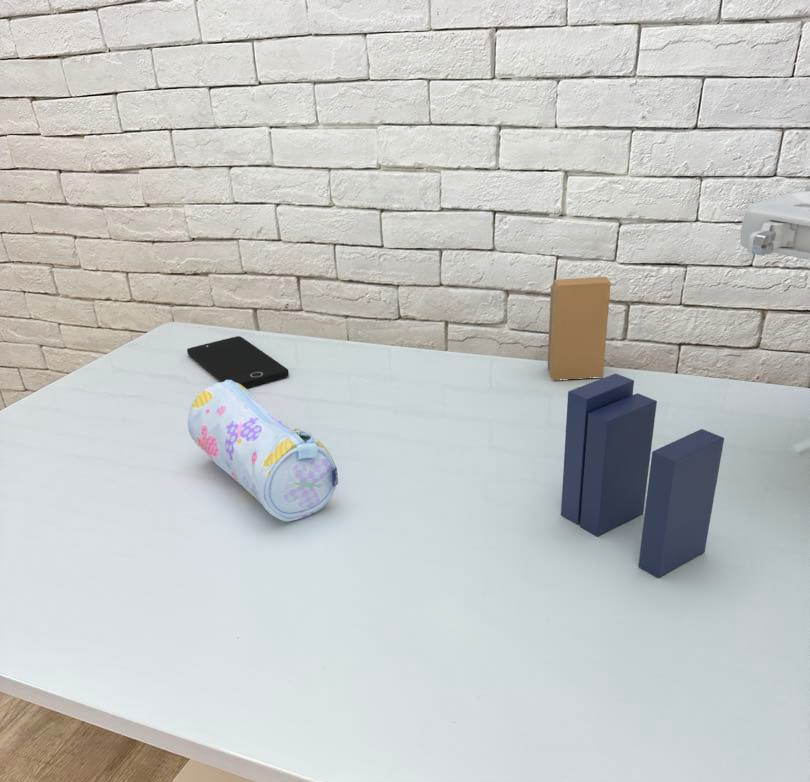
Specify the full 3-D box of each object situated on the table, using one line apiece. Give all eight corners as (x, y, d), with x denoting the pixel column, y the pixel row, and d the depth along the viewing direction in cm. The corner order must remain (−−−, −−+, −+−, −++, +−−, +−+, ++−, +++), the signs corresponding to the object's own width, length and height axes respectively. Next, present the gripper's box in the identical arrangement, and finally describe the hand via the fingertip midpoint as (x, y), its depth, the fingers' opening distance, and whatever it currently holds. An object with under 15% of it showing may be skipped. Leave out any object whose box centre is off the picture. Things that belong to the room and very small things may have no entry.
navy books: (605, 493, 90) (616, 372, 82) (643, 513, 86) (658, 388, 79) (559, 515, 87) (566, 391, 79) (597, 536, 83) (608, 409, 76)
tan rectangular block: (595, 364, 119) (602, 271, 112) (602, 378, 115) (610, 282, 108) (546, 367, 119) (550, 274, 112) (552, 381, 115) (557, 285, 108)
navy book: (684, 541, 82) (701, 428, 75) (704, 552, 80) (724, 437, 74) (637, 566, 79) (651, 451, 72) (658, 578, 77) (674, 461, 70)
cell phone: (232, 392, 117) (231, 385, 116) (186, 354, 130) (185, 348, 129) (290, 376, 121) (289, 369, 120) (240, 341, 134) (239, 335, 133)
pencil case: (346, 509, 90) (337, 428, 85) (272, 538, 86) (259, 454, 81) (257, 440, 105) (245, 367, 99) (191, 462, 101) (175, 387, 95)
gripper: (1002, 283, 73) (916, 318, 66) (787, 244, 87) (700, 270, 81) (1027, 206, 70) (940, 234, 63) (800, 178, 84) (709, 199, 77)
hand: (803, 254), depth 72 cm, fingers open, 8 cm apart
